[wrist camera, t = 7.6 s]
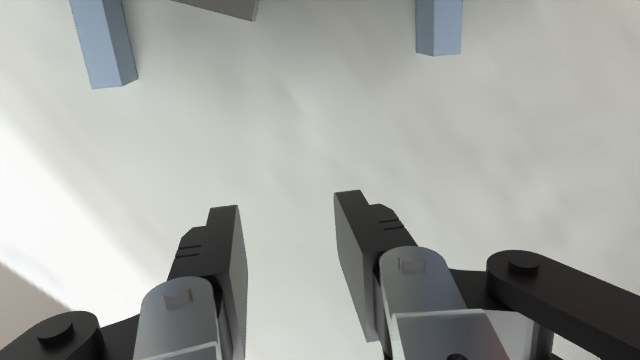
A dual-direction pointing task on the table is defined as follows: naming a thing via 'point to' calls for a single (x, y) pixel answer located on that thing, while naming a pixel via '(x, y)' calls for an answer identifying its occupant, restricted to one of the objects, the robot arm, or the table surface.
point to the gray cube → (228, 7)
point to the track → (117, 59)
